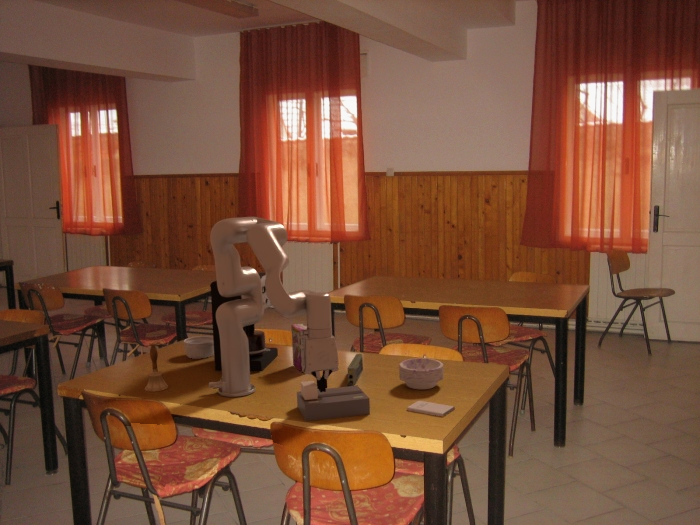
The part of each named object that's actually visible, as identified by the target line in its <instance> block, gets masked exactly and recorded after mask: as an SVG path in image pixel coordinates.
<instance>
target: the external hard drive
mask: <svg viewBox="0 0 700 525" xmlns="http://www.w3.org/2000/svg"><path fill="white" fill-rule="evenodd" d="M455 407H456V406H453V405H449V404H448V405H447V404H442V403H436V402H431V401H430V402H429V401H425V400H417V401H416V402H414V403H412V404H410V405H409V406H407V407H406V411H409V412H415V413H419V414H426V415H432V416H435V415H436V417H440V416H442V417H441V418H444V417H446V414H447V415H448V414H450V413H451V412H453V411H455V409H456V408H455ZM452 410H453V411H452ZM449 412H450V413H449ZM443 416H444V417H443Z"/></svg>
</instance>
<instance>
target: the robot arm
mask: <svg viewBox="0 0 700 525" xmlns="http://www.w3.org/2000/svg"><path fill="white" fill-rule="evenodd" d="M288 236H289V235H288V231H287V229H286V228H285V226H284V225H283V224H281V223H280V222H278V221H276V220H271V219H266V218H262V217H257V216H245V217H243V216H242V217H230V218H229V217H228V218H224V219H221V220H219V221H217V222H216V223H215V224H214V225H213V226H212V228H211V230H210V235H209V237H210V239H209V240H210V246H211V249H212V252H213V259H214V267H215V276H216V280H217V286H218V291H219V293H220V295H222V296H223V297H234V296H239V295H241V297H242V299H239V300H233V301H229V302H226V303H223V304H222V305H220V306H219V307H218V309H217V311H216V321H217V325H218V329H219V334H220V347H221V364H222V371H221V377H220V379H219V380H218V381H211V382H208V388H209V389H211V388H212V389H215V390H216V389H217V391H218V392H217V393H218V394H219V395H220V396H222V397H229V398H236V397H238V398H239V397H244V396H248V395H251V394H254V392H256V386H255V385H254V384H252V383H251V372H250V363H249V343H248V338H247V335H246V334H245V332H244V330H243V327H245V326H248V325H252V324H254V325H255V324H258V323H260V321H261V320H262V319H263V317H264V314H265V313H264V312H265V310H264V306H263V295H262V285H261V279H260V276H259V274H258V273H259V272H258V271H257V270H256V269H255V268H254V267H252V266H242V265H241V256H240V254H239V251H238V250H237V248H236V246H235V245H234V244H241V243H243V244H244V243H248V245H249V247H250V248H251V250H252V251H253V253H254V255H255V257H256V258H257V260H258V261H259V263H260V265H261V266H262V268H263V270H264V273H266V277H265V289H266V294H267V297H268V299H269V300H270V302H271V304H272V305H271V306H272V307H273V309H274V310H275V311H276V313H277V314H279V316H281V317H283V318H286V319H289V318H295V317H297V316H302V315H306V326H307V329H306V330H305V331H303V335H307V336H308V337H306V340H305V348H304V366H305V369H304V372H303V373H304V374H305V375H309V376H313V377H314V378H315V380H316V385H317V390H319V391H320V392H326V389H328V379H329V377H330V375H331V374H332V373H335V372H338V371H339V355H338V346H337V345H338V344H337V342H336V336H334V335H333V326H332V325H333V324H332V301H331V295H330V294H329V293H326V292H322V291H320V292H319V291H318V292H316V291H313V290H311V289H300V290H297V291H296V290H295V291H291V292H287V290H286V289H285V286H284V285H283V282H282V279H281V273H282V272H283V271H284V270H285V269H286V268H287V267H288V266H289V263H290V259H289V257H288V255H287V254H286V251H285V250H284V248H283V246H284V245H286V243H287V241H288ZM320 371H321V372H322V375H321V372H320Z"/></svg>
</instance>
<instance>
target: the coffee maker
mask: <svg viewBox="0 0 700 525" xmlns="http://www.w3.org/2000/svg"><path fill="white" fill-rule="evenodd" d="M258 274H259V276H260V279H261V285H262V295H263V306H264V311H265V310H267V309H268V308H269V307H271V306H273V305H272V304H271V302H270V300H269V299H268V297H267V294H266V289H265V277H266V272H258ZM209 287H210V300H211V317H212V318H211V320H212V323H211V324H212V337H213V341H214V354H213V358H214V371H215V372H222V364H221V347H220V334H219V329H218V325H217V321H216V311H217V309H218V307H219V306H220V305H222V304H223V303H226V302H229V301H233V300H239V299H242V297H241V295H239V296H234V297H223V296H222V295H220V293H219V291H218V286H217V279H215V281H212V282H211V283H210V284H209ZM255 329H256V327H255V324H252V325H248V326H245V327H243V330H244V332H245V334H246V335H247V338H248V343H249V363H250V371H253V373H255V372H254V371H262V372H263V371H264V370H265V369H266V368H267V367H268V366H269V365H270V364H271V363H273V361H274V360H275V359H276V358H277V357H278V356H279V352H278V351H279V350H278V349H279V348H277V347H266V343H267V342H266V335H265V331H263V330H265V329H263V330H257V329H256V330H255Z"/></svg>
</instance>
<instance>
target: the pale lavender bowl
mask: <svg viewBox="0 0 700 525" xmlns="http://www.w3.org/2000/svg"><path fill="white" fill-rule="evenodd" d="M398 365H399V366H398V371H399V376H398V377H399V379H400V380H401V381H402V382H404V383H405V385H406V386H407V388H410V389H413V390H420V391H422V390H423V391H424V390H430V389H432V388H435V387H436V386H437V385H438V383H439V382H440V381H442V380H443V379H444V363H443V362H442V361H440V360H437V359H434V358H426V357H425V358H423V357H421V358H419V357H418V358H409V359H405V360H403V361H401V362H399V364H398Z"/></svg>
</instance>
